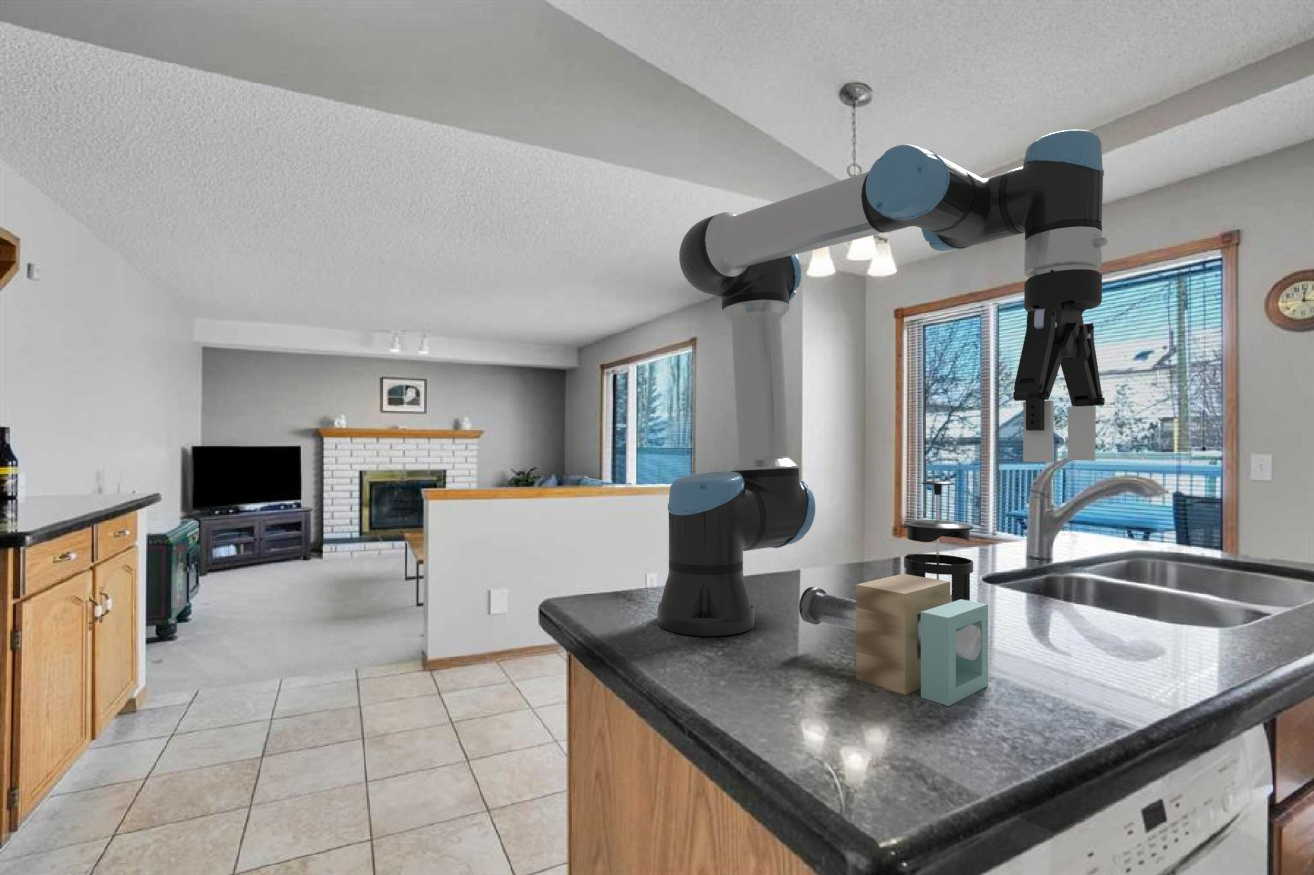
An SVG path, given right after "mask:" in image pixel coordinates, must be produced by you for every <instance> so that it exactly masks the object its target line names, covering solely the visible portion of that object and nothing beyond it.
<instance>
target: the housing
mask: <svg viewBox="0 0 1314 875" xmlns="http://www.w3.org/2000/svg"><path fill="white" fill-rule="evenodd" d="M855 586H856V589H855V591H856V593H855V600H856V631H855V641H856V642H855V644H856V646H855V650H856V652H855V658H856V659H855V663H856V664H855V665H856V666H855V669H856V670H855V672H856V673H855V674H856V675H855V676H856V677H855V679H856V680H858V681H860V682H864V683H868V684H870V685H874V686H877V687H880V688H883V689H886V690H888V691H892V692H896V693H899V694H901V695H905V696H906V695H908V694H910V693H912V692H914V691H917V690H918V689H919V690H920V689H921V647H918V646H917V614H921V612H922V611H925V610H928V609H932V608H935V607H938V606H941V605H944V604H948V603H950V594H951V581H950V580H943V579H942V580H941V579H939V580H937V578H930V577H926V576H925V577H919V576H913V575H907V574H906V573H900V574H897V575H895V574H894V575H891V576H887V577H883V578H879V579H874V580H869V581H866V582H861V583H857V584H856V585H855Z"/></svg>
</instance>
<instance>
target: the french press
mask: <svg viewBox="0 0 1314 875" xmlns="http://www.w3.org/2000/svg"><path fill="white" fill-rule="evenodd" d="M921 484H922V485H931V486H933V494H934V495H935V499H936V507H935V508H936V509H935V510H936V512H935V513H936V514H935V515H936V518H935V519H922V520H921V519H920V520H910V521H906V522H905V521H904V522H903V526H904V527H906V539H908V540H910V541H913V542H919V543H933V542H935V541H936V552H935V553H934V554H933V553H907V554H906V555H904V556H903V567H904V568H905V574H907V575H913V576H919V577H925V578H926V574H932V575H936V579H937V580H940V575H943V576H944V575H946V576H950V575H951V593H950V603H951V602H954V601H957V600H960V599H962V600H968V601H971V574H972V573H973V572H974V561H973V559H970V558H966V557H961V556H956V555H949V554H940V538H941V537H945V538H954V539H955V538H956V539H961V540H965V541H968V542H970V541H971V540H970V537H971V536H970V535H971V534H970V531H971V530H973V529H974V526H973V525H971V524H968V523H963V522H957V521H953V520H941V519H940V496H941V495H942V486H953V485H955V483H954V482H952V481H949V480H926V481H923V482H921Z"/></svg>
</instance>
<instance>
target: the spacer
mask: <svg viewBox="0 0 1314 875" xmlns="http://www.w3.org/2000/svg"><path fill="white" fill-rule="evenodd" d="M970 624H971V625H975V626H978V627H979V629H980V631H981V637H982V643H981V649H980V652H979V655H978V656H977V658H976V659H975V660H969V659H965V658H961V657H957V656H956V630H957V629H959V628H962V627H965V626H967V625H970ZM988 686H989V604H988V603H983V602H978V601H973V600H970V601H968V600H962V599H960V600H957V601H954V602H951V603H948V604H944V605H941V606H938V607H935V608H932V609H928V610H925V611H922V612H921V688H920V698H922V699H925V700H927V701H931V702H935V703H937V704H941V705H944V706H946V707H947V706H948V707H950V706H951V705H953V704H956V703H957V702H960V701H961V700H963V699H965V698H967V697H969V696H972V695H973V694H975V693H977V692H978V691H981V690H983V689H985V688H987V687H988Z"/></svg>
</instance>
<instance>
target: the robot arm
mask: <svg viewBox="0 0 1314 875" xmlns="http://www.w3.org/2000/svg"><path fill="white" fill-rule="evenodd" d="M1102 150H1103V148H1102V142H1101V139H1100V137H1099V136H1098V135H1097V134H1095V133H1094V131H1090V130H1086V129H1079V128H1078V129H1068V130H1060V131H1056V132H1052V133H1048V134H1047V135H1044V136H1041V137H1040V138H1039V139H1038V140H1035V141H1033V142H1031V144H1030V145H1029V146H1028V147H1027V149H1026V151H1025V155H1024V160H1023V165H1022V166H1021V167H1017V168H1014V169H1011V170H1009V171H1006V172H1004V173H1000V174H996V175H993V176H990V177H985V178H982V177H980V176H978V175H976V174H975V173H973V172H970V171H969V170H966V169H964V168H962V167H961V166H958V165H957V164H955V163H953V162H951V161H949V160H947V159H945V158H943V157H942V156H940V155H939V154H938V153H935V152H934V151H932V150H930V149H928V148H926V149H925V148H921V147H919V146H915V145H912V144H900V145H896V146H892V147H891V148H889V149H887V150H886V151H885V152H884V153H883V154H882V155H881V156H880V157H879V158H877V159H876V160H875V161H874V163H873V164H872V166H871V168H870V170H868V171H866V172H863V173H860V174H859V173H858V174H857V175H854V176H851V177H848V178H845V179H841V180H838V181H835V182H833V183H830V184H827V185H823V186H820V187H817V188H814V189H812V190H808V191H806V192H803V193H799V194H796V195H793V196H790V197H788V198H785V199H781V200H779V201H778V200H777V201H775V202H773V203H770V204H766V205H763V206H760V207H756V208H754V209H752V210H748V211H745V212H742V213H739V214H735V213H732V212H729V211H725V212H720V213H716V214H714V215H712V216H708V217H706V218H703V219H702V220H699V221H698V222H696V223H695V224H694V225H692V226H691V227H690V228H689V229H688V231H687V232H686V234H684V236H683V239H682V241H681V243H680V247H679V254H678V258H679V265H680V266H679V267H680V269H681V272H682V274H683V276H684V278H685V279H686V280H687V282H688V283H689V284H690V285H691V286H693V288H695V289H696V290H697V291H699V292H702V293H704V294H708V295H711V296H716V297H720V301H721V313H722V314H721V315H722V316H723V317H724V318H725V319H726V320H728V321H729V322H730V323H731V339H732V342H731V344H732V345H731V346H732V358H733V359H732V360H733V362H732V363H733V378H734V379H733V380H734V382H733V383H734V398H735V415H736V421H735V422H736V435H737V436H736V437H737V438H736V439H737V455H738V456H737V458H738V459H737V461H736V462H735V463H734V464H733V465H732V467H731V468H730V470H729V471H713V472H700V473H693V474H689V475H684V476H681V477H678V478H676V479H675V480H673V482H672V483H671V485H670V487H669V493H668V494H669V497H668V503H667V511H668V574H667V578H666V581H665V584H664V588H663V591H662V597H661V600H660V603H658V606H657V611H656V613H657V616H656V617H657V618H656V620H657V625H658V626H660V627H661V628H662V629H663V630H666V631H669V632H672V633H677V634H681V635H686V636H687V635H689V636H696V637H697V636H698V637H699V636H701V637H719V636H720V637H722V636H730V635H731V636H732V635H736V634H741V633H745V632H748V631H750V630H752V629H753V628H754V626H755V608H754V606H753V604H752V603H751V599H750V595H749V590H748V587H747V584H746V580H745V577H744V552H745V551H755V550H762V549H769V548H775V549H779V548H782V547H785V546H788V545H792V544H795V543H797V542H799V541H800V540H802V539H803V538H804V537H805V536H806V534H807V533H808V532H809V531H810V529H811V528H812V525H813V524H814V519H815V515H816V501H815V500H816V499H815V496H814V494H813V491H812V489H810V488H809V487H808V484H807V483H806V482H805V481H804V480H801V479H800V465H799V464H797V463H796V462H795V461H794V460H792V458H791V457H790V451H789V450H790V448H789V432H788V431H789V430H788V428H789V427H788V415H787V413H788V412H787V411H788V410H787V397H786V396H787V395H786V382H785V380H786V379H785V363H784V344H783V330H782V329H783V328H782V326H783V325H782V319H783V317H784V316H785V314H786V313H788V312H789V310H790V302H791V300H793V298H794V297H795V296H796V294H797V291H796V289H798V288H799V287H800V284H801V281H802V280H801V279H802V267H801V266H802V265H801V262H800V259H799V256H798V254H802V253H806V252H811V251H815V250H819V249H822V248H826V247H831V246H835V245H839V244H843V243H846V242H851V241H856V240H859V239H863V238H867V237H871V236H876V235H879V234H883V233H884V234H885V233H889V232H893V231H894V232H895V231H898V230H903V229H906V228H910V227H918V228H919V229H921V233H922V236H923V238H924V241H926V242H927V243H928V244H929V246H930V248H932V249H933V250H934V251H938V252H946V251H947V252H948V251H952V250H963V249H966V248H969V247H972V246H975V245H980V244H983V243H988V242H992V241H996V240H1000V239H1004V238H1008V237H1012V236H1016V235H1017V236H1018V235H1020V234H1024V248H1023V249H1024V252H1023V274H1024V276H1025V277H1027V279H1026V280H1025V282H1024V284H1023V286H1024V287H1023V288H1024V292H1023V293H1024V294H1023V297H1024V301H1023V303H1024V306H1023V308H1024V310H1025V311H1026V312H1027V313H1026V327H1025V329H1026V330H1025V335H1024V340H1023V343H1022V349H1021V351H1020V352H1021V353H1020V358H1019V362H1018V365H1017V366H1018V367H1017V370H1016V371H1017V372H1016V376H1015V380H1014V386H1013V396H1012V397H1013V400H1014V402H1023V409H1022V410H1023V411H1022V412H1023V416H1022V417H1023V421H1022V423H1023V425H1022V427H1023V428H1022V433H1023V434H1022V435H1023V436H1022V439H1023V440H1022V462H1024V463H1054V427H1055V426H1054V422H1055V421H1054V420H1055V419H1054V412H1055V411H1054V410H1055V409H1054V405H1055V402H1054V400H1049V399H1050V397H1051V393H1052V390H1053V388H1054V385H1055V382H1056V379H1057V376H1058V373H1059V371H1060V367H1061V372H1062V374H1063V375H1062V376H1063V378H1064V382H1065V384H1066V385H1065V386H1066V388H1067V393H1068V395H1069V400H1070V403H1071V406H1067V461H1089V462H1093V461H1094V462H1095V461H1096V440H1097V439H1096V438H1097V437H1096V434H1097V433H1096V431H1097V430H1096V428H1097V425H1096V422H1097V421H1096V420H1097V419H1096V418H1097V416H1096V414H1097V410H1096V409H1097V407H1096V406H1099V407H1100V406H1101V407H1102V406H1104V405H1105V402H1106V400H1105V397H1103V392H1102V387H1101V386H1102V385H1101V378H1100V373H1099V372H1100V371H1099V366H1098V360H1097V353H1096V346H1095V334H1094V333H1095V331H1094V330H1095V325H1094V323H1093V322H1091V321H1090V322H1084V318H1083V313H1084V312H1085V311H1087V310H1093V309H1095V308H1098V307H1100V305H1101V304H1102V301H1103V274H1101V273H1100V272H1099V271H1098V269H1099V268H1100V267H1101V266H1102V263H1103V262H1102V260H1103V259H1102V257H1103V256H1102V254H1103V253H1102V247H1105V246H1107V245H1108V239H1107V237H1102V236H1103V235H1102V232H1103V198H1104V197H1103V196H1104V195H1103V194H1104V192H1103V191H1104V190H1103V188H1104V176H1105V170H1104V168H1103V151H1102Z"/></svg>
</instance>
